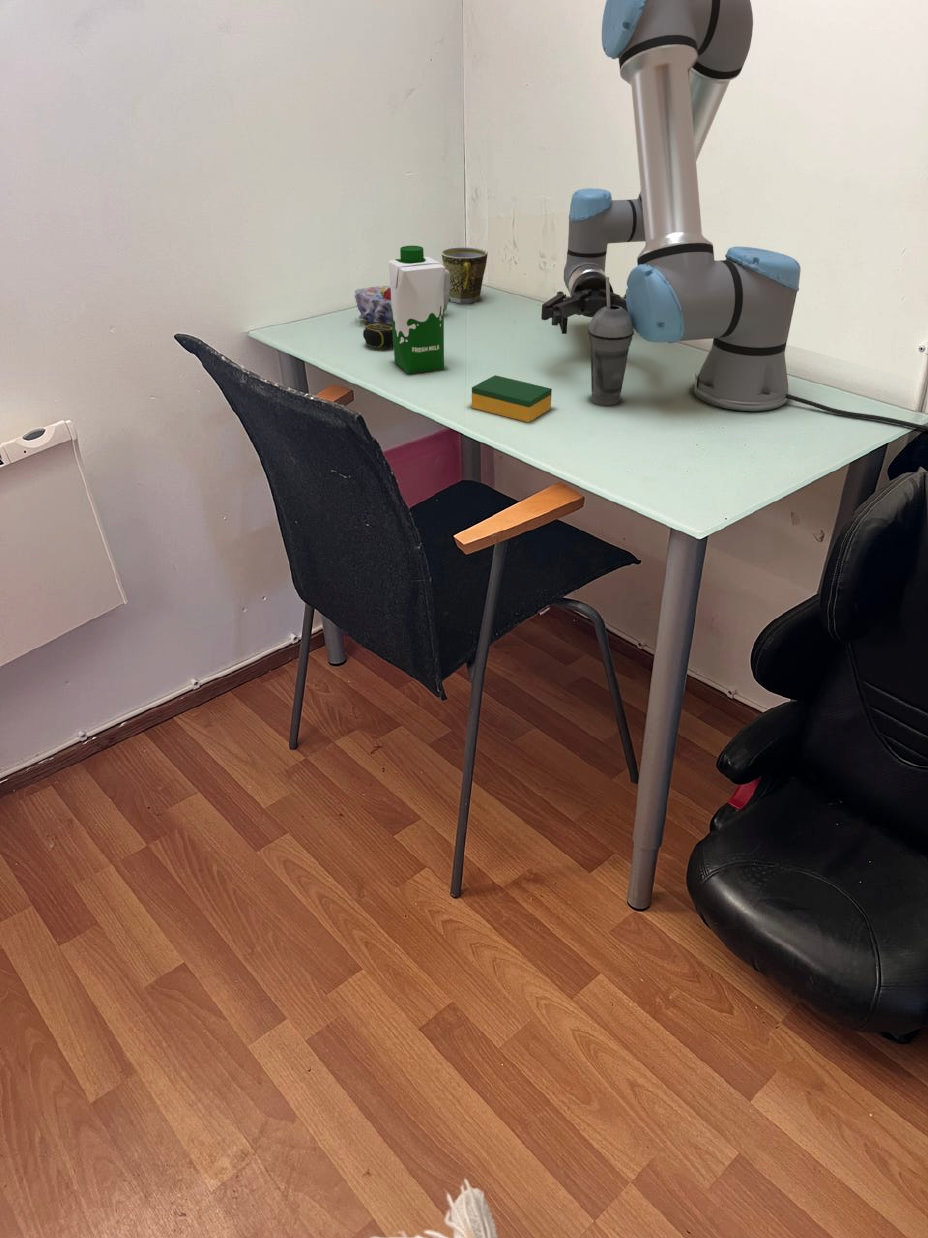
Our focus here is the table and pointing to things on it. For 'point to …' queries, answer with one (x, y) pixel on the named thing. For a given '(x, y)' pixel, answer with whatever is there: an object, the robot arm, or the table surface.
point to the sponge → (511, 398)
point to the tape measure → (378, 335)
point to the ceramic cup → (465, 273)
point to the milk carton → (417, 311)
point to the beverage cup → (609, 351)
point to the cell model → (385, 301)
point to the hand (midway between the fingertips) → (605, 325)
